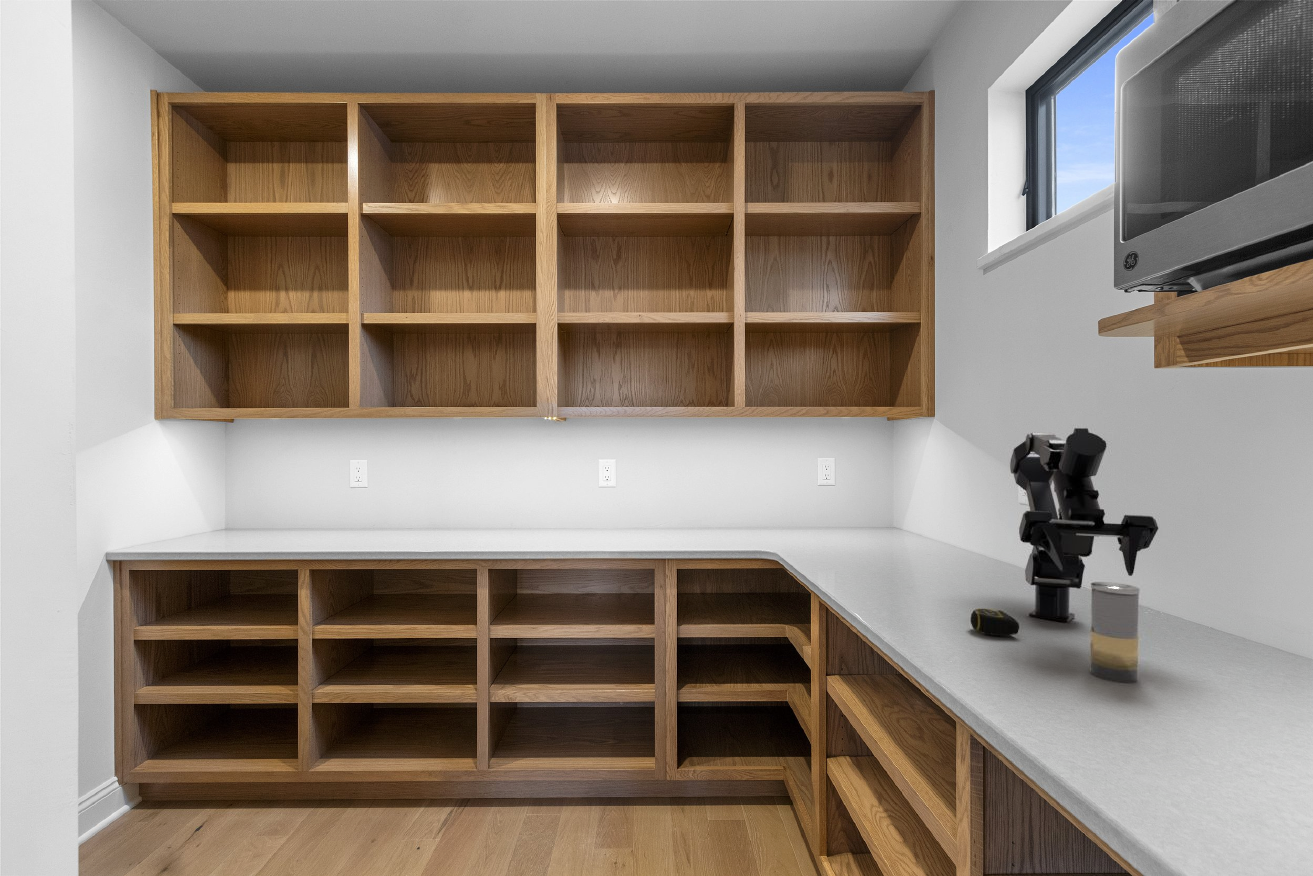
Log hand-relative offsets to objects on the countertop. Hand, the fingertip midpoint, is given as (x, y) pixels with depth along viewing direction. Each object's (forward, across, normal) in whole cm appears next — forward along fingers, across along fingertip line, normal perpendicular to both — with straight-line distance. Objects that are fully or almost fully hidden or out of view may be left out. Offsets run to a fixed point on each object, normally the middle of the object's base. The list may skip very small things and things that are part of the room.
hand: (1097, 572), depth 103 cm
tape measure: (+3, +12, -17) cm, 21 cm away
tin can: (+15, 0, -4) cm, 16 cm away
